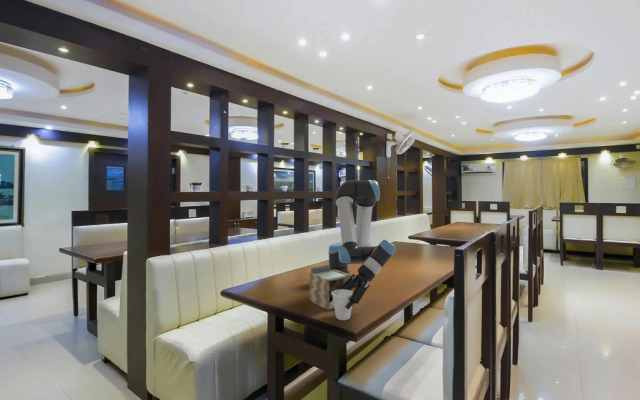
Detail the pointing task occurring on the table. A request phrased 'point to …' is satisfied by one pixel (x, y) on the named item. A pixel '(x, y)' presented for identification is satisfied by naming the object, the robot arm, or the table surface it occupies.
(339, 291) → the cup
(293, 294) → the table surface
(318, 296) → the stand
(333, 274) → the flap
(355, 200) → the robot arm
